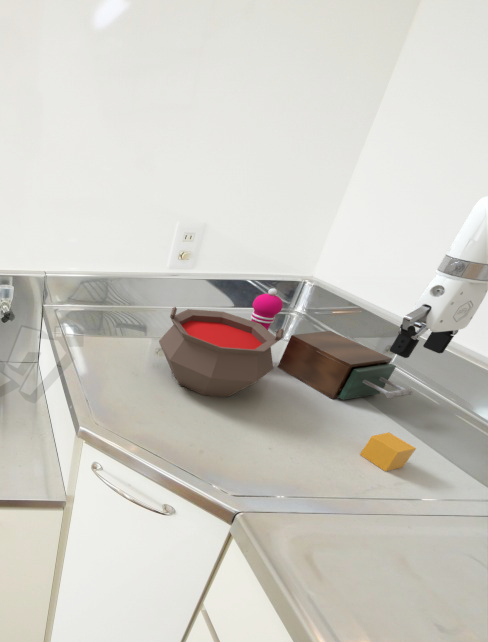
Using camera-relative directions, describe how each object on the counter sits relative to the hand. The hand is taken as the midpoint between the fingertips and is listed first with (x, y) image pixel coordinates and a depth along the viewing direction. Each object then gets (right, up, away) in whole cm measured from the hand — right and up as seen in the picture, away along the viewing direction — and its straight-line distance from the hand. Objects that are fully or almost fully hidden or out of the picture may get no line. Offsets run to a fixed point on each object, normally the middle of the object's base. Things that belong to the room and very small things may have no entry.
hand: (415, 352), depth 85 cm
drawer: (-3, -8, +13) cm, 16 cm away
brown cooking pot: (-35, -7, +15) cm, 38 cm away
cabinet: (-4, -6, +18) cm, 20 cm away
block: (-14, -20, -7) cm, 25 cm away
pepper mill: (-20, -2, +24) cm, 31 cm away
